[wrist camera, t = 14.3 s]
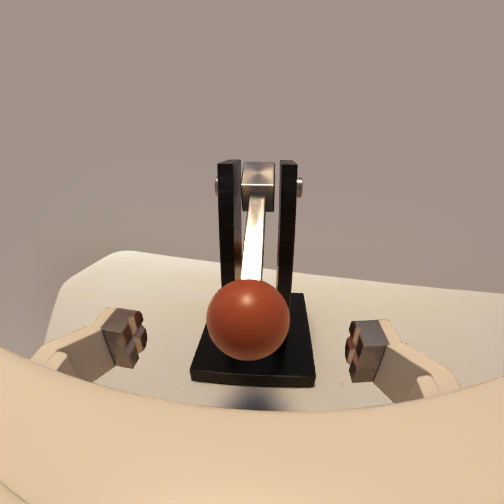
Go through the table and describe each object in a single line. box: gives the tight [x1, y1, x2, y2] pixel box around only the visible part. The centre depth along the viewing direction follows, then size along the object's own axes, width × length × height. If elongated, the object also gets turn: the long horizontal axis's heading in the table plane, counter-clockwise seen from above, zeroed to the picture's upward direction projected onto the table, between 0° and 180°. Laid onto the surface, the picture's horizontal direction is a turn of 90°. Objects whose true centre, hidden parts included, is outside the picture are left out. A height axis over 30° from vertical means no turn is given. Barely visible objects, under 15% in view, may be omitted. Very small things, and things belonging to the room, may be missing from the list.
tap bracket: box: [190, 160, 316, 387], centre depth 22 cm, size 12×9×15 cm
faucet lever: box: [207, 162, 290, 361], centre depth 16 cm, size 13×4×4 cm, turn 175°
